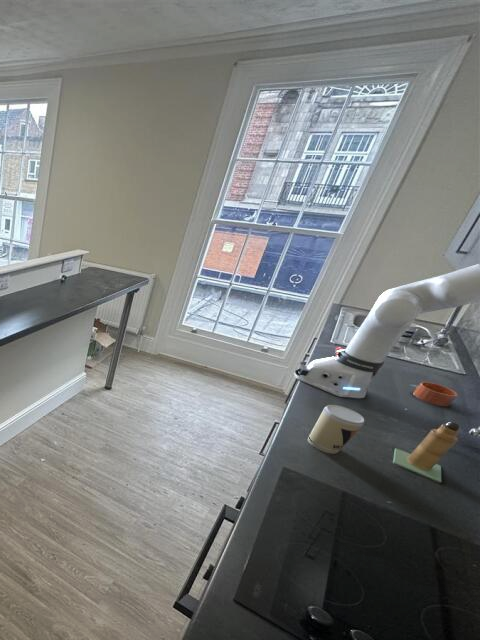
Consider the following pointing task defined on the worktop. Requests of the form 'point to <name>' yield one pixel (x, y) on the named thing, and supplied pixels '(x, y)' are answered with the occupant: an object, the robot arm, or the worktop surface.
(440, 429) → the pepper mill
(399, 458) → the plate
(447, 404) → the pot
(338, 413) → the coffee cup
